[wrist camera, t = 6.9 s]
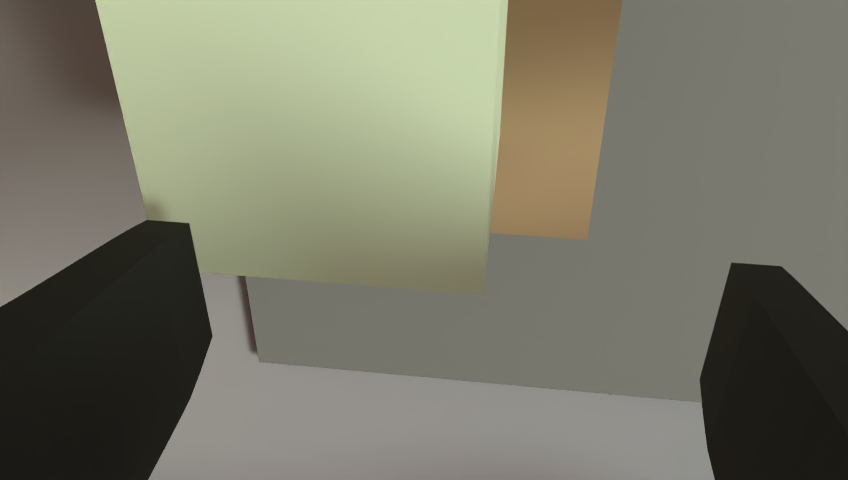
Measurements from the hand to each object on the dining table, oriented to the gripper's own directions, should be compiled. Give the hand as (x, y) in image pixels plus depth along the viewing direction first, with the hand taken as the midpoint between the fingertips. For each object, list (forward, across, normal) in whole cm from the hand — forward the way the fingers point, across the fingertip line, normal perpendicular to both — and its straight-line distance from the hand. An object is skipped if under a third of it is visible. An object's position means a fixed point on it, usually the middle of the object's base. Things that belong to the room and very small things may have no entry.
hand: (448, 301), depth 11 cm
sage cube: (+6, +2, -2) cm, 6 cm away
